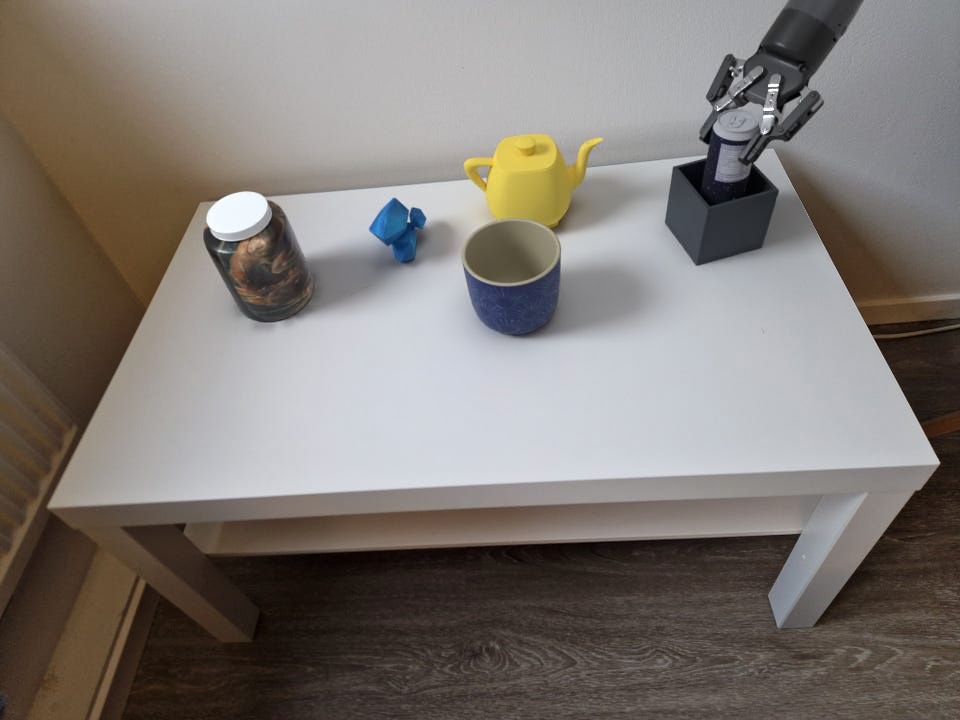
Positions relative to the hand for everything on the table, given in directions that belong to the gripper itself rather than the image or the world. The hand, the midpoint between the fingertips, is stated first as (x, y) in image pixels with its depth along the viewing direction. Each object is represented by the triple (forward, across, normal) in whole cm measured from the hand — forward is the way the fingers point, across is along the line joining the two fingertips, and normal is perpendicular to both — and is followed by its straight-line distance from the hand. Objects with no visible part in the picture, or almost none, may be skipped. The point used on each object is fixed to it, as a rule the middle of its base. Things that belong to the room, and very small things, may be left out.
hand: (722, 152), depth 84 cm
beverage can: (+5, 0, +7) cm, 9 cm away
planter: (+31, -7, -10) cm, 33 cm away
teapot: (+20, -22, 0) cm, 30 cm away
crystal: (+34, -28, -14) cm, 46 cm away
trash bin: (+9, 0, +11) cm, 15 cm away
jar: (+48, -33, -28) cm, 64 cm away
